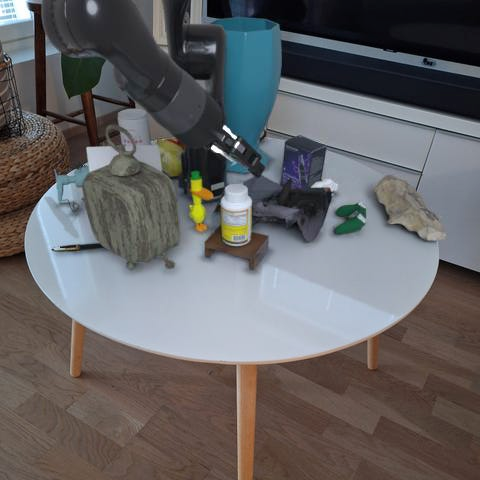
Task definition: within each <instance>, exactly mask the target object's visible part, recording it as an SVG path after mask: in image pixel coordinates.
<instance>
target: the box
mask: <svg viewBox="0 0 480 480" xmlns="http://www.w3.org/2000/svg"><path fill="white" fill-rule="evenodd" d="M327 148H328V147H327V145H326V144H324V143H321V142H318V141H316V140H313V139H311V138H308V137H306V136H304V135H302V134H299V135H296V136H293V137H291V138H289V139H287V140H285V141H284V146H283V158H282V167H281V177H280V185H281V186H283V187H284V185H285V184H286V182H287V181H288V180H289V179H290V178H291V180H292V185H291V189H293V188H311V186H313V185H314V184H315V183H316V182H319V181H322V178H323V173H324V167H325V160H326V154H327Z"/></svg>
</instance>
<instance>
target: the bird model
mask: <svg viewBox="0 0 480 480" xmlns="http://www.w3.org/2000/svg"><path fill="white" fill-rule="evenodd" d="M291 185H292V180H291V178H290V179H289V180H288V181H287V182H286V184H285V185H284V186H283V189H282V191H281V193H280V195H279V197H278V200H277V203H278V204H277V205H279V206H284V207H288V206H290V205H292V204H297V203H298V201H299V199H300V196H301V191H298V192H297V193H296V194H295V195H294V196H293V197H292V198H291V199H290V200H289V201H288V202H287V203H286V201H287V199H288V196H289V193H290V189H291ZM285 204H286V205H285ZM259 222H260V221H258V220H257V221H256V222H254V224H252V227H254V226H255V225H256V224H258V223H259ZM271 222H273V221H271ZM273 223H275V224H279V223H281V222H277V221H276V222H273Z"/></svg>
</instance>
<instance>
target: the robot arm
mask: <svg viewBox="0 0 480 480" xmlns="http://www.w3.org/2000/svg"><path fill="white" fill-rule="evenodd" d="M191 2H192V0H161V5H162V10H163V18H164V26H165V27H164V28H165V36H166V43H167V51H168V53H167V52H166V51H165V50H164V49H162V47H160V46H159V44H158V42H157V41H156V39H155V36H154V35H153V33H152V31H151V29H150V28H149V26H148V24H147V23H146V21H145V19H144V17H143V15H142V14H141V12H140V11H139V9H138V7H137V5H136V4H135V3H134V2H133V0H41V21H42V22H41V23H42V26H43V31H44V33H45V35H46V37H47V40H48V41H49V43H50V44H51V45H52V46H53V47H54V48H55V50H57V51H58V52H59V53H61V54H62V55H65V56H66V57H69V58H76V59H86V58H88V59H89V58H102V59H104V60H105V61H107V62H108V63H110V64H111V65H112V76H113V79H114V81H115V84H116V85H117V87H118V88H119V89H120V91H122V92H123V93H124V94H125V95H126V96H127V97H128V98H129V99H130V100H132V101H133V102H134V103H135V104H137V105H138V106H139V107H140V108H142V110H144V111H146V113H147V115H148V116H149V117H150V118H151V119H152V120H154V122H156V123H157V124H158V125H159V126H160V127H162V128H163V129H164V131H166V132H168V133H169V135H171V136H172V137H173V138H176V139H177V140H179V141H180V142H181V143H182V144H184V151H183V152H182V153H181V165H182V172H181V173H180V174H179V175H178V176H171V177H170V176H168V177H169V178H170V179H171V180H172V181H173V180H177V182H178V188H179V189H182V190H183V195H186V196H188V198H190V199H191V200H193V197H192V193H191V192H190V189H191V179H190V178H191V177H192V175H191V172H193V171H199V176H201V179H202V187H203V188H206V189H207V190H209V191H210V192H212V194H213V198H212V199H210V200H208V201H207V200H205V199H202V203H213V202H218V201H219V199H220V197H221V195H222V193H223V191H224V189H225V187H226V186H228V185H229V183H228V170H227V160H228V161H230V162H237V163H238V164H240V165H241V166H243V168H244V169H247V170H248V171H249V172H248V173H250V174H251V175H252V176H253V177H256V178H260V176H261V175H262V176H263V173H264V171H266V167H265V166H264V165H263V164H262V163H261V162H260V160H261V159H262V156H261V155H260V154H259V153H258V152H257V151H256V150H255V149H253V148H252V147H251V146H250V145H249V144H248V143H247V142H246V141H245V140H244V139H243V137H241V136H235V135H234V134H233V133H231V130H230V129H229V128H227V112H226V70H227V37H226V33H225V30H224V28H223V27H222V26H221V25H216V24H209V23H186V22H185V17H186V13H187V10H188V8H189V5H190V3H191ZM205 80H207V81H210V85H209V86H208V87H207V88H206V87H205V88H203V87H202V86H201V85H200V83H198V81H205ZM230 153H231V154H232V156H229V154H230ZM83 165H84V166H87V165H86V164H84V163H78V164H76V166H75V167H74V169H75V170H78V169H79V168H82V167H84V166H83Z"/></svg>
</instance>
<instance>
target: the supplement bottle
mask: <svg viewBox="0 0 480 480" xmlns="http://www.w3.org/2000/svg"><path fill="white" fill-rule="evenodd" d="M220 204H221V232H222V240H223V241H224V242H225V243H226V244H228V245H231V246H242V245H245V244H247V243H248V242H249V241H250V240H251V232H252V228H253V215H252V213H253V207H252V199H251V198H250V197H249V196H248V188H247V187H246V186H245V185H244V184H242V183H230V184H228V186H226V187H225V196H223V197H222V199H221V203H220Z"/></svg>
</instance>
